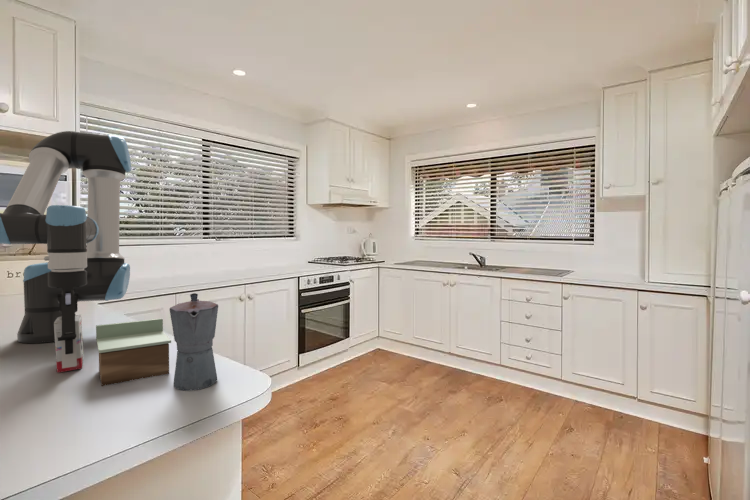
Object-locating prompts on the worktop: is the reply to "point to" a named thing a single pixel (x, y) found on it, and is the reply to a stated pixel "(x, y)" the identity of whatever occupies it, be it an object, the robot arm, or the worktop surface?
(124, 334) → the lid
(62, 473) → the worktop surface
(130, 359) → the walnut box
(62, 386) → the worktop surface
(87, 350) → the worktop surface
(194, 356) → the moka pot
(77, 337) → the ink box
